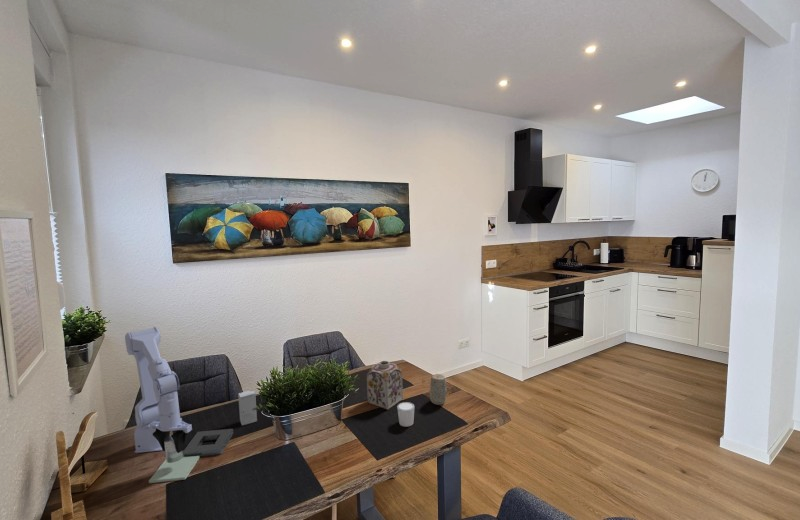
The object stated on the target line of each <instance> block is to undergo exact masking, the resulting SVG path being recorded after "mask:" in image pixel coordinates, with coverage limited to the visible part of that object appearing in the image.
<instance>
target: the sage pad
mask: <svg viewBox="0 0 800 520" xmlns="http://www.w3.org/2000/svg"><path fill="white" fill-rule="evenodd" d="M200 457H201V456H192V457H183V458H182V459H180V460H179V461H177V462H173V463H168V462H166V459H165V460H164V461H163V463H162V464H161V465H160V466H159V468H157V470H156V471H155V472H154V474H152V476H151V478H149V480H148V484H152V483H153V484H154V483H164V482H173V481H174V482H175V481H182V480H186V479H187V477H189V474H190V473H191V471H192V470H194V469H193V468H194V467H195V465H197V462H199V460H200Z"/></svg>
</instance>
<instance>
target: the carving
mask: <svg viewBox="0 0 800 520" xmlns="http://www.w3.org/2000/svg"><path fill="white" fill-rule="evenodd" d="M430 377H431V378H430V383H429V385H430V386H429V387H430V389H429V397H430V398H429V399H430V402H431V403H432V404H434V405H438V406H441V405H443V404H444V403H445V401H446V398H447V379H446V377H445V375H443V374H441V373H440V374H439V373H435V374H432V375H431V376H430Z"/></svg>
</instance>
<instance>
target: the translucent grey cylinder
mask: <svg viewBox="0 0 800 520" xmlns="http://www.w3.org/2000/svg"><path fill="white" fill-rule="evenodd" d="M164 445H165V451H164V452H165V460H166V462H168V463H173V462H177V461H179V460H180V459H182V458H183V456H184V454H183V451H184V449H183V450H182V451H181V452H180V453H177V451H176V446H175V442H174V440H173V438H172V437H171V435H170V436H169V437H167V438H166V439H165V440H164Z"/></svg>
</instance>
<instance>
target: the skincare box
mask: <svg viewBox="0 0 800 520" xmlns="http://www.w3.org/2000/svg"><path fill="white" fill-rule="evenodd" d="M237 395H238V409H239V422H240V424H241V426H245V425H249V424H252V423H255V422H258V418H257V417H258V416H257V400H256V392H255V390H254V389H251V390H246V391H243V392H239V393H238V394H237Z"/></svg>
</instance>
